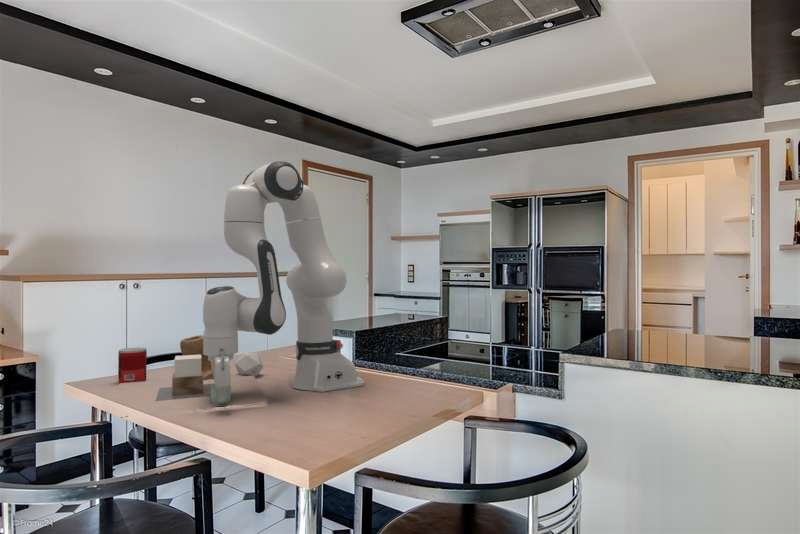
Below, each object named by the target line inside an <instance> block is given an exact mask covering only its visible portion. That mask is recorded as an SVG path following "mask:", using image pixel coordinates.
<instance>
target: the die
mask: <svg viewBox="0 0 800 534" xmlns="http://www.w3.org/2000/svg"><path fill="white" fill-rule="evenodd" d="M234 366H235V368H236V371H237V373H238V375H239V376H253V377H254V378H257V377H258V375H259V373H260V372H261V371H262V370H263V368H264V364H263V362H262V359H261V356H260V355H259V352H243V353H241V354H240V356H239V358H238V359H237V360H236V362H235V363H234Z"/></svg>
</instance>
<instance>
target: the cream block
mask: <svg viewBox="0 0 800 534" xmlns="http://www.w3.org/2000/svg"><path fill="white" fill-rule="evenodd" d="M173 374H174V378H177V377H190V376H201V355H185V356H183V355H175V357H174V372H173Z"/></svg>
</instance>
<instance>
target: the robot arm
mask: <svg viewBox="0 0 800 534" xmlns="http://www.w3.org/2000/svg"><path fill="white" fill-rule="evenodd" d="M315 196H316V195H315V194H314V190H312V188H311V186H309V185H306V184H304V181H303V179H302V177H301V175H300V173H299V171H298V169H297V168H296V167H295V165H293V164H292V163H289V162H287V161H283V160H282V161H273V162H271V163H268V164H267V163H266V164H264V165H262V166H260V167H259V168H257V169H255V170H251V172H249V174H248V175H246V177H245V179H244V180H243V182H242V184H236V185H234V186H232V187H231V188H229V190H228V192H227V194H226V200H225V205H224V215H223V216H224V217H223V220H224V221H223V236H224V240H225V243H226V245H227V246H228V248H229V249H231V250H232V252H234V253H236V254H237V255H239V256H241V257H244V258H245V259H248V261H250V262H251V263H252V264H253V266H254V267H255V270H256V276H257V282H258V290H259V297H249V296H248V297H247V296H245V295H242V294H241V293H239V292H238V291H237V290H236V288H235V287H234V286H230V285H225V286H223V285H222V286H216V287H213V288H210V289H208V290H207V291H206V293H205V294H204V300H203V304H202V305H203V307H202V309H203V310H202V321H203V324H204V325H203V326H204V331H203V335H202V336H203V354H204V355H207V356H208V360H209V361H211V367H212V373H213V378H214V379H213V382H214V383H215V388H216V389H218V401H219V402H224V401H225V395H226V388H229V387H230V385H231V384H232V383H231V382H232V381H231V360H233V359H234V355H235V354H238V353H239V331H240V332H249V333H258V334H263V335H269V336H270V335H271V336H272V335H274V334H276V333H277V332H278V331H279V330H280V329H281V328H282V327H283V326H284V324H285V321H286V319H287V312H286V307H285V304H284V301H283V298H282V292H281V285H280V277H279V270H278V264H277V257H276V252H275V249H274V247H273V245H272V243H271V242H270V241H269V240H268V238H267V235H266V230H265V210H266V207H267V204H272V203H278V205H279V206H280V208H281V210H282V212H283V216H284V217H283V218H284V221H285V226H286V227H285V228H286V231H287V232H286V233H287V237H288V242H289V245H290V248H291V250H292V251H293V252H294V253H295V254H296V256H297V258H298V260H299V262H300V263H299V264H297V265H295V266H294V267H292V268H291V269H289V271H288V272H287V273H286V274H287V275H286V281H285V282H286V285H287V287H288V289H289V291H290V293H291V295H292V298H293V301H294V305H295V311H296V316H297V317H296V319H297V341H296V342H295V358H296V359H295V360H296V366H295V374H294V377H293V378H294V379H293V381H292V384H291V386H292V388H294V389H297V390H301V391H312V392H321V393H322V392H330V391H336V390H342V389H349V388H357V387H362V386H364V384H365V381H364V379H363V378H362V377H360V376H358V374H357V369H356V366H355V364H354V362H352V361H351V360H350V359H349V358H347V357H346V356H345V355H344V354H342V353H341V352H339V351H340V350H341V349H343V347H344V344H343V343H342V342H339V341H338V342H337V341H336V340H334V338H333V337H334V331H333V330H334V329H333V327H334V325H333V324H334V323H333V322H334V320H333V318H334V317H333V314H332V312H331V311H330V309H329V307H328V305H327V301H326V299H328V298H332V297H335V296H338V295H340V294H341V293H342V292H343V291H344V290H345V288H346V285H347V276H346V275H347V274H346V272H345V271H344V269H343V268H342V267H341V266H340V265H339V264H338V263H337V261H336V260H335V258H334V256H333V253H332V252H331V250H330V247H329V245H328V242H327V241H326V240H327V239H326V235H325V232H324V231H325V230H324V227H323V222H322V218H321V212H320V209H319V204H318V201H317V199H316V197H315ZM214 383H213V384H214Z"/></svg>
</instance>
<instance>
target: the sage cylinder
mask: <svg viewBox="0 0 800 534" xmlns="http://www.w3.org/2000/svg"><path fill="white" fill-rule="evenodd" d="M231 387H232V385H231V384H230V387H229V388H226V395H225V401H224V402H219V401H218V389H216V388H215V385H212V386H211V396H210V403H211V404H214V405H221V404H227V403H230V402H231V400H232V393H231V391H232V389H231ZM227 406H229V405H228V404H227V405H226V407H227ZM222 407H223V408H224V407H225V405H221V406H216V408H222Z"/></svg>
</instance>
